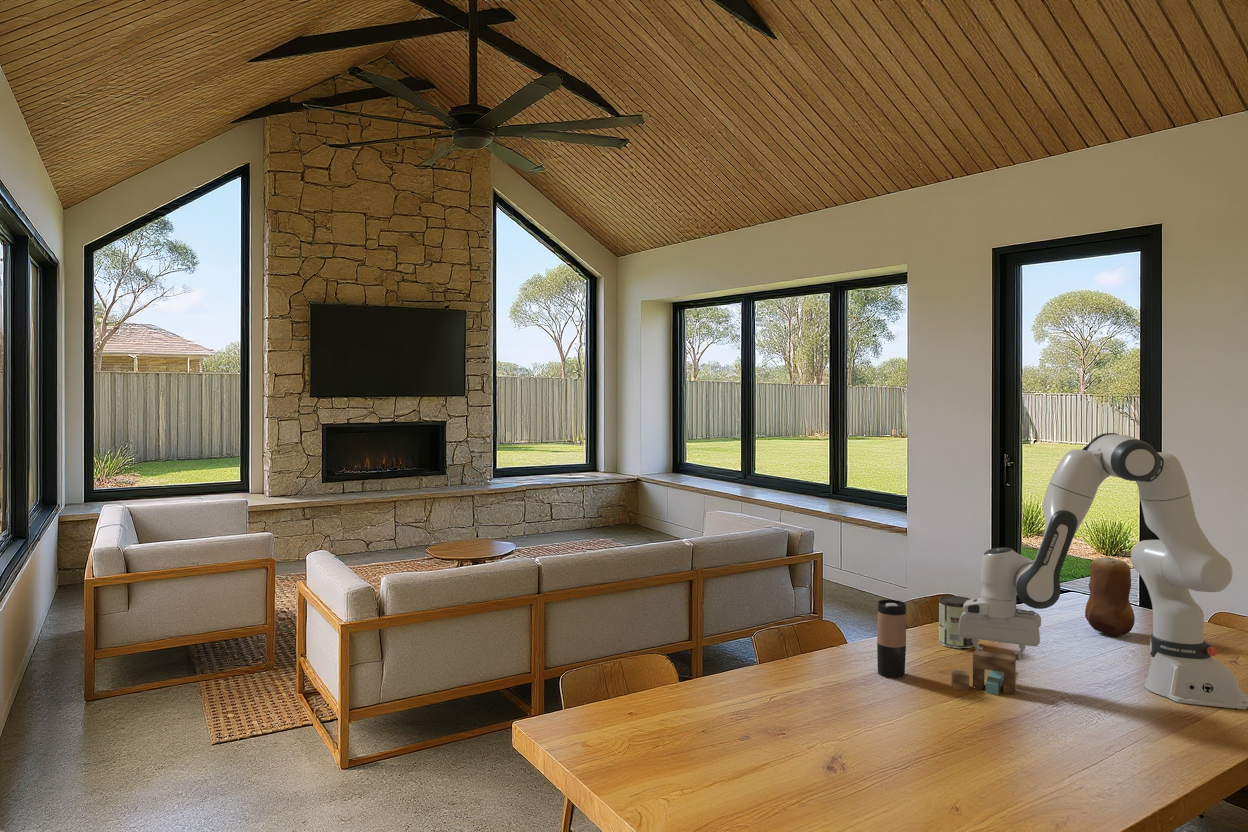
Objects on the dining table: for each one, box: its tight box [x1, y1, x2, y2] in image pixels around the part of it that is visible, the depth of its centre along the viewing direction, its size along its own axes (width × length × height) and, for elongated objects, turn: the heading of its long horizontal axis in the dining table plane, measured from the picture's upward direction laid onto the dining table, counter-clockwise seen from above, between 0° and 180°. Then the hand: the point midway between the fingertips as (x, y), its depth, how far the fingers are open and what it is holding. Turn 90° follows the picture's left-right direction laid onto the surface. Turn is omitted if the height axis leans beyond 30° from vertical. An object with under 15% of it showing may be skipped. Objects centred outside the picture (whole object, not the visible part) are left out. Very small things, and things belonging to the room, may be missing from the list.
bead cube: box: [950, 669, 970, 691], centre depth 216 cm, size 4×4×4 cm
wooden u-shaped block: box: [972, 649, 1017, 695], centre depth 214 cm, size 10×4×9 cm, turn 60°
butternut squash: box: [1084, 556, 1136, 638], centre depth 263 cm, size 14×13×25 cm
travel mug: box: [876, 599, 907, 679], centre depth 225 cm, size 8×8×20 cm
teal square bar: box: [984, 670, 1004, 695], centre depth 220 cm, size 3×22×3 cm, turn 149°
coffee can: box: [938, 595, 975, 649], centre depth 252 cm, size 10×10×14 cm
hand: (998, 657), depth 221 cm, fingers open, 8 cm apart
